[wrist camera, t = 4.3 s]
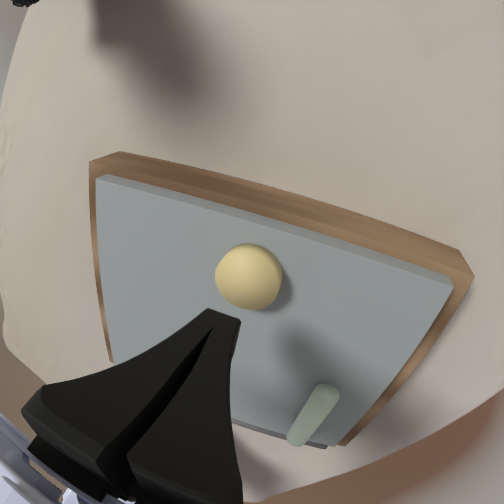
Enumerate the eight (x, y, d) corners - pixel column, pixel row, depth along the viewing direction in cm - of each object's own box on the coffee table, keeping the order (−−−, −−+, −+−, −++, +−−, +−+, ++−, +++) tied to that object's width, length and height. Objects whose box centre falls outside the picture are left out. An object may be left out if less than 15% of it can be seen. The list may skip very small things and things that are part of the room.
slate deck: (331, 441, 22) (326, 467, 19) (121, 365, 24) (106, 385, 22) (448, 276, 13) (462, 307, 11) (106, 173, 16) (75, 187, 14)
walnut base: (348, 419, 24) (344, 446, 22) (126, 341, 27) (109, 361, 25) (458, 250, 15) (475, 276, 13) (119, 151, 18) (89, 161, 16)
